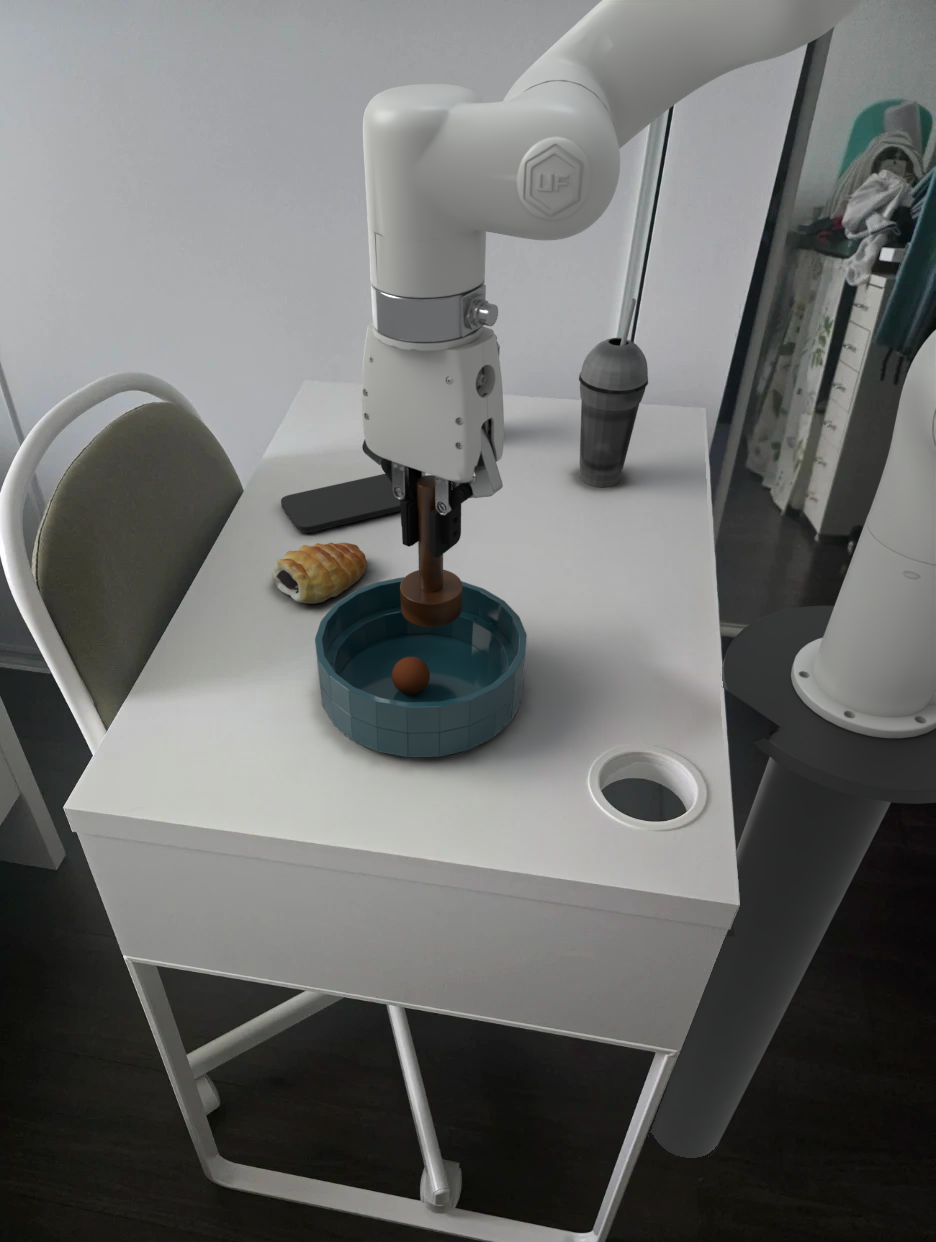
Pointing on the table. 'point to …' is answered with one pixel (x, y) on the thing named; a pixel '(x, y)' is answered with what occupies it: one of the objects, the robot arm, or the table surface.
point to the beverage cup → (610, 405)
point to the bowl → (456, 658)
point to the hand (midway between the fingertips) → (430, 542)
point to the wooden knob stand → (429, 573)
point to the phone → (341, 503)
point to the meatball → (410, 675)
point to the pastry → (319, 571)
